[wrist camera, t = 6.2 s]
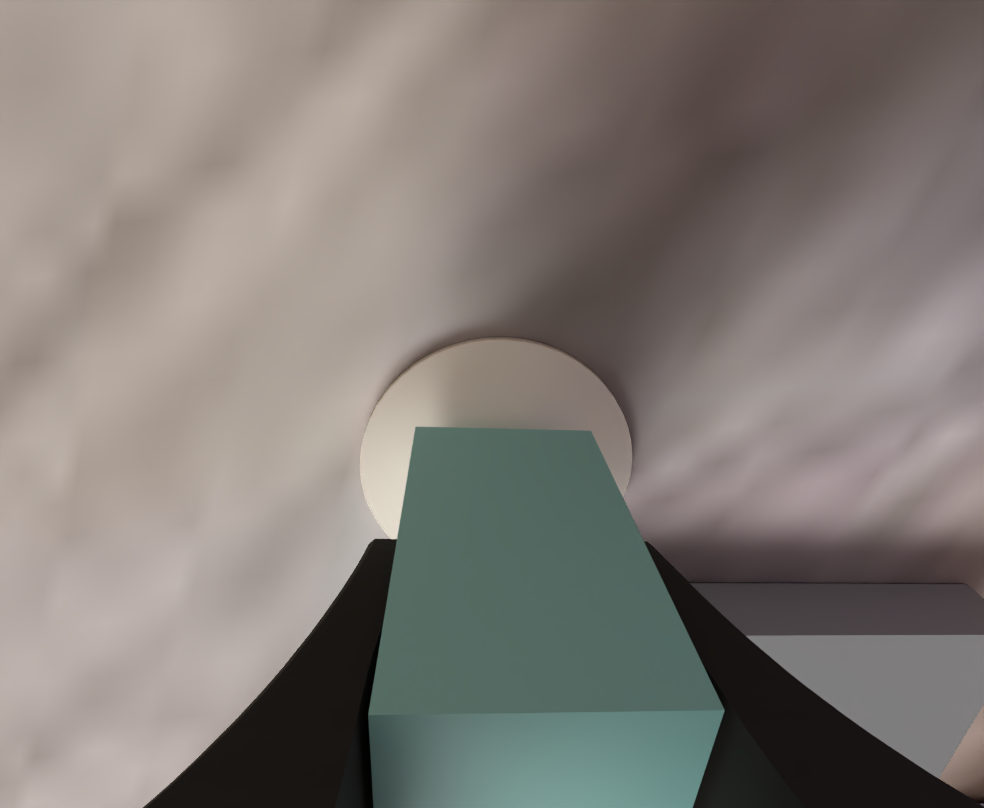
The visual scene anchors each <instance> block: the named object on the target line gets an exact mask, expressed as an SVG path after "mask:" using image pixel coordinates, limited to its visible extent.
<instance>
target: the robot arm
mask: <svg viewBox="0 0 984 808" xmlns="http://www.w3.org/2000/svg"><path fill="white" fill-rule="evenodd" d="M396 542H397V539H374V540H373V541H372V542H371V543H370V544H369V545H368V547H367V549H366V551H365V553H364V554H363V556H362V558H361V560H360V561H359V563H358V565H357V566H356V568H355V570H354V571H353V573H352V575H351V576H350V578H349V579H348V581H347V582H346V584H345V585H344V587H343V588H342V590H341V592H340V593H339V594H338V596H337V597H336V599H335V600H334V601H333V603H332V604H331V606H330V607H329V609H328V610H327V611H326V613H325V614H324V616H323V617H322V618H321V620H320V621H319V623H318V624H317V625H316V627H315V628H314V629H313V631H312V632H311V633H310V634H309V636H308V637H307V638H306V639H305V641H304V642H303V643H302V644H301V646H300V647H299V648H298V649H297V651H296V652H295V653H294V654H293V656H292V657H291V658H290V659H289V661H288V662H287V663H286V664H285V666H284V667H283V668H282V669H281V670H280V672H279V673H278V674H277V675H276V676H275V677H274V679H273V680H272V681H271V682H270V683H269V684H268V686H267V687H266V688H265V689H264V690H263V691H262V692H261V693H260V694H259V696H258V697H257V698H256V699H255V700H254V701H253V702H252V703H251V704H250V705H249V706H248V707H247V709H246V710H245V711H244V712H243V713H242V714H241V715H240V716H239V717H238V718H237V719H236V720H235V721H234V722H233V723H232V724H231V725H230V726H229V727H228V728H227V729H226V730H225V731H224V732H223V733H222V734H221V735H220V736H219V737H218V738H217V739H216V740H215V741H214V742H213V743H212V744H211V745H210V746H209V747H208V748H207V749H206V750H205V751H204V752H203V753H202V754H201V755H200V756H199V757H198V758H197V759H196V760H195V761H194V762H193V763H192V764H191V765H190V766H189V767H188V768H187V769H186V770H185V771H183V772H182V773H181V774H180V775H179V776H178V777H177V778H176V779H175V780H174V781H173V782H172V783H171V784H170V785H168V786H167V787H166V788H165V789H164V790H163V791H162V792H160V793H159V794H158V795H157V796H156V797H155V798H154V799H152V800H151V801H150V802H149V803H148V804H147V805H146V806H144V807H143V808H373V791H372V773H371V755H370V737H369V720H368V713H369V707H370V701H371V695H372V689H373V683H374V677H375V671H376V665H377V658H378V652H379V646H380V640H381V634H382V628H383V622H384V616H385V610H386V603H387V597H388V591H389V585H390V579H391V573H392V567H393V561H394V555H395V549H396ZM644 543H645V545H646V547H647V549H648V551H649V553H650V555H651V557H652V559H653V562H654V564H655V566H656V568H657V570H658V572H659V574H660V576H661V578H662V580H663V582H664V585H665V587H666V589H667V591H668V593H669V595H670V597H671V599H672V601H673V603H674V605H675V608H676V610H677V612H678V614H679V616H680V618H681V620H682V622H683V624H684V626H685V628H686V631H687V633H688V635H689V637H690V639H691V641H692V643H693V645H694V647H695V649H696V651H697V654H698V656H699V658H700V660H701V662H702V664H703V666H704V668H705V670H706V672H707V674H708V677H709V679H710V681H711V683H712V685H713V687H714V689H715V691H716V693H717V695H718V697H719V700H720V702H721V704H722V706H723V708H724V710H725V711H724V714H723V717H722V720H721V723H720V726H719V729H718V732H717V735H716V738H715V741H714V744H713V747H712V750H711V753H710V756H709V759H708V763H707V766H706V769H705V772H704V775H703V778H702V781H701V784H700V787H699V790H698V793H697V796H696V799H695V802H694V805H693V808H984V803H980V804H979V803H977V802H976V801H974V800H972V799H971V798H969V797H967V796H966V795H964V794H962V793H961V792H959V791H958V790H956V789H954V788H953V787H951V786H950V785H948V784H946V783H945V782H943V781H942V780H940V779H938V778H937V777H935V776H934V775H932V774H930V773H929V772H927V771H926V770H924V769H923V768H921V767H920V766H918V765H917V764H915V763H914V762H912V761H911V760H909V759H908V758H906V757H905V756H903V755H902V754H900V753H899V752H897V751H896V750H894V749H893V748H891V747H890V746H888V745H887V744H885V743H884V742H882V741H881V740H879V739H878V738H876V737H875V736H873V735H872V734H870V733H869V732H868V731H866V730H865V729H863V728H862V727H860V726H859V725H858V724H856V723H855V722H853V721H852V720H851V719H849V718H848V717H846V716H845V715H844V714H842V713H841V712H840V711H838V710H837V709H836V708H834V707H833V706H832V705H830V704H829V703H828V702H826V701H825V700H824V699H822V698H821V697H820V696H818V695H817V694H816V693H814V692H813V691H812V690H810V689H809V688H808V687H806V686H805V685H804V684H803V683H801V682H800V681H799V680H798V679H796V678H795V677H794V676H793V675H791V674H790V673H789V672H788V671H786V670H785V669H784V668H783V667H782V666H780V665H779V664H778V663H777V662H776V661H774V660H773V659H772V658H771V657H770V656H769V655H767V654H766V653H765V652H764V651H763V650H762V649H760V648H759V647H758V646H757V645H756V644H755V643H753V642H752V641H751V640H750V639H749V638H748V637H747V636H745V635H744V634H743V633H742V632H741V631H740V630H739V629H738V628H736V627H735V626H734V625H733V624H732V623H731V622H730V621H729V620H728V619H727V618H726V617H725V616H723V615H722V614H721V613H720V612H719V611H718V610H717V609H716V608H715V607H714V606H713V605H712V604H711V603H710V602H709V601H708V600H707V599H705V598H704V597H703V596H702V595H701V594H700V593H699V592H698V591H697V590H696V589H695V588H694V587H693V586H692V585H691V584H690V583H689V582H688V581H687V580H686V579H685V578H684V577H683V576H682V575H681V574H680V573H679V572H678V571H677V570H676V569H675V568H674V567H673V566H672V565H671V564H670V563H669V562H668V561H667V560H666V559H665V558H664V557H663V556H662V555H661V554H660V553H659V552H658V551H657V550H656V549H655V548H654V547H653V546H652V545H650V544H649V543H648V542H644Z"/></svg>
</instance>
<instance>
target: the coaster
mask: <svg viewBox="0 0 984 808" xmlns="http://www.w3.org/2000/svg"><path fill="white" fill-rule="evenodd" d="M415 427H457V428H500V429H542V430H584V431H591V432H592V434H593V436H594V438H595V440H596V442H597V444H598V447H599V449H600V451H601V453H602V455H603V457H604V459H605V461H606V463H607V465H608V467H609V470H610V472H611V474H612V476H613V478H614V480H615V482H616V484H617V486H618V488H619V490H620V493H621V495H622V497H623V498H624V495H625V493H626V490H627V487H628V483H629V479H630V476H631V467H632V443H631V438H630V433H629V428H628V426H627V423H626V420H625V417H624V414H623V412H622V411H621V409H620V407H619V405H618V403H617V401H616V400H615V398H614V397H613V395H612V393H611V392H610V391H609V389H608V388H607V387H606V385H605V384H604V383H603V382H602V380H601V379H600V378H599V377H598V376H597V375H596V374H595V373H594V372H593V371H592V370H591V369H590V368H588V367H587V366H585V365H584V364H583V363H581V362H580V361H579V360H577V359H576V358H574V357H572V356H571V355H569V354H567V353H565V352H563V351H561V350H559V349H557V348H554V347H551V346H549V345H546V344H543V343H539V342H535V341H531V340H526V339H520V338H510V337H489V338H480V339H474V340H467V341H463V342H460V343H457V344H453V345H450V346H447V347H445V348H442V349H440V350H438V351H435V352H433V353H431V354H429V355H427V356H426V357H424V358H422V359H421V360H419V361H417V362H416V363H414V364H413V365H412V366H410V367H409V368H408V369H407V370H405V371H404V372H403V373H402V374H400V375H399V377H398V378H397V379H396V380H395V381H394V382H393V383H392V384H391V385H390V386H389V387H388V388H387V390H386V391H385V393H384V394H383V395H382V397H381V398H380V399H379V401H378V403H377V405H376V407H375V409H374V410H373V412H372V414H371V417H370V420H369V422H368V425H367V428H366V431H365V434H364V437H363V442H362V447H361V453H360V475H361V483H362V488H363V491H364V495H365V498H366V501H367V503H368V505H369V508H370V510H371V512H372V514H373V516H374V517H375V519H376V520H377V522H378V524H379V525H380V527H381V528H382V529H383V530H384V531H385V533H386V534H387V535H388V536H389V537H390V538H391V539H397V536H398V530H399V524H400V518H401V512H402V506H403V500H404V494H405V487H406V481H407V475H408V469H409V463H410V457H411V451H412V445H413V439H414V433H415Z"/></svg>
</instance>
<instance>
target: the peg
mask: <svg viewBox="0 0 984 808" xmlns="http://www.w3.org/2000/svg"><path fill="white" fill-rule="evenodd" d="M724 711H725V710H724V708H723V706H722V704H721V702H720V700H719V697H718V695H717V693H716V691H715V689H714V687H713V685H712V683H711V681H710V679H709V677H708V674H707V672H706V670H705V668H704V666H703V664H702V662H701V660H700V658H699V656H698V654H697V651H696V649H695V647H694V645H693V643H692V641H691V639H690V637H689V635H688V633H687V631H686V628H685V626H684V624H683V622H682V620H681V618H680V616H679V614H678V612H677V610H676V608H675V605H674V603H673V601H672V599H671V597H670V595H669V593H668V591H667V589H666V587H665V585H664V582H663V580H662V578H661V576H660V574H659V572H658V570H657V568H656V566H655V564H654V562H653V559H652V557H651V555H650V553H649V551H648V549H647V547H646V545H645V543H644V541H643V539H642V536H641V534H640V532H639V530H638V528H637V526H636V524H635V522H634V520H633V518H632V516H631V513H630V511H629V509H628V507H627V505H626V503H625V501H624V499H623V497H622V495H621V493H620V490H619V488H618V486H617V484H616V482H615V480H614V478H613V476H612V474H611V472H610V470H609V467H608V465H607V463H606V461H605V459H604V457H603V455H602V453H601V451H600V449H599V447H598V444H597V442H596V440H595V438H594V436H593V434H592V432H591V431H584V430H542V429H500V428H457V427H415V433H414V439H413V445H412V451H411V457H410V463H409V469H408V475H407V481H406V487H405V494H404V500H403V506H402V512H401V518H400V524H399V530H398V536H397V542H396V549H395V555H394V561H393V567H392V573H391V579H390V585H389V591H388V597H387V603H386V610H385V616H384V622H383V628H382V634H381V640H380V646H379V652H378V658H377V665H376V671H375V677H374V683H373V689H372V695H371V701H370V707H369V713H368V720H369V737H370V755H371V773H372V791H373V808H693V805H694V802H695V799H696V796H697V793H698V790H699V787H700V784H701V781H702V778H703V775H704V772H705V769H706V766H707V763H708V759H709V756H710V753H711V750H712V747H713V744H714V741H715V738H716V735H717V732H718V729H719V726H720V723H721V720H722V717H723V714H724Z"/></svg>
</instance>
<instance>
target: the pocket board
mask: <svg viewBox="0 0 984 808" xmlns="http://www.w3.org/2000/svg"><path fill="white" fill-rule="evenodd" d="M690 584H691V585H692V586H693V587H694V588H695V589H696V590H697V591H698V592H699V593H700V594H701V595H702V596H703V597H704V598H705V599H707V600H708V601H709V602H710V603H711V604H712V605H713V606H714V607H715V608H716V609H717V610H718V611H719V612H720V613H721V614H722V615H723V616H725V617H726V618H727V619H728V620H729V621H730V622H731V623H732V624H733V625H734V626H735V627H736V628H738V629H739V630H740V631H741V632H742V633H743V634H744V635H745V636H747V637H748V638H749V639H750V640H751V641H752V642H753V643H755V644H756V645H757V646H758V647H759V648H760V649H762V650H763V651H764V652H765V653H766V654H767V655H769V656H770V657H771V658H772V659H773V660H774V661H776V662H777V663H778V664H779V665H780V666H782V667H783V668H784V669H785V670H786V671H788V672H789V673H790V674H791V675H793V676H794V677H795V678H796V679H798V680H799V681H800V682H801V683H803V684H804V685H805V686H806V687H808V688H809V689H810V690H812V691H813V692H814V693H816V694H817V695H818V696H820V697H821V698H822V699H824V700H825V701H826V702H828V703H829V704H830V705H832V706H833V707H834V708H836V709H837V710H838V711H840V712H841V713H842V714H844V715H845V716H846V717H848V718H849V719H851V720H852V721H853V722H855V723H856V724H858V725H859V726H860V727H862V728H863V729H865V730H866V731H868V732H869V733H870V734H872V735H873V736H875V737H876V738H878V739H879V740H881V741H882V742H884V743H885V744H887V745H888V746H890V747H891V748H893V749H894V750H896V751H897V752H899V753H900V754H902V755H903V756H905V757H906V758H908V759H909V760H911V761H912V762H914V763H915V764H917V765H918V766H920V767H921V768H923V769H924V770H926V771H927V772H929V773H930V774H932V775H934V776H935V777H937V778H938V779H939V777H940V775H941V774H942V772H943V770H944V769H945V767H946V766H947V764H948V762H949V761H950V759H951V757H952V756H953V754H954V752H955V751H956V749H957V747H958V746H959V744H960V743H961V741H962V739H963V738H964V736H965V734H966V733H967V731H968V729H969V728H970V726H971V724H972V723H973V721H974V720H975V718H976V716H977V715H978V713H979V711H980V710H981V708H982V706H983V705H984V599H983V598H982V597H981V596H980V595H979V594H977V593H976V592H975V591H974V590H973V589H971V588H970V587H969V586H968V585H967V584H801V583H690Z"/></svg>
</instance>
